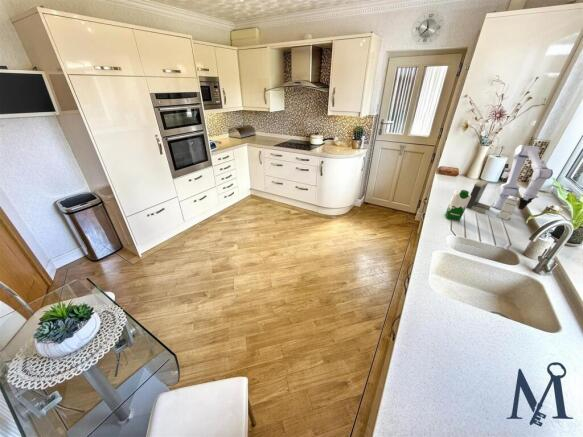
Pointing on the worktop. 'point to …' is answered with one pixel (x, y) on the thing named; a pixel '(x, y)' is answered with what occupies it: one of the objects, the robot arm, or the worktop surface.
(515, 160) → the robot arm
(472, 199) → the grey block
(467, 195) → the milk carton
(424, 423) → the worktop surface
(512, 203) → the syrup box
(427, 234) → the worktop surface
